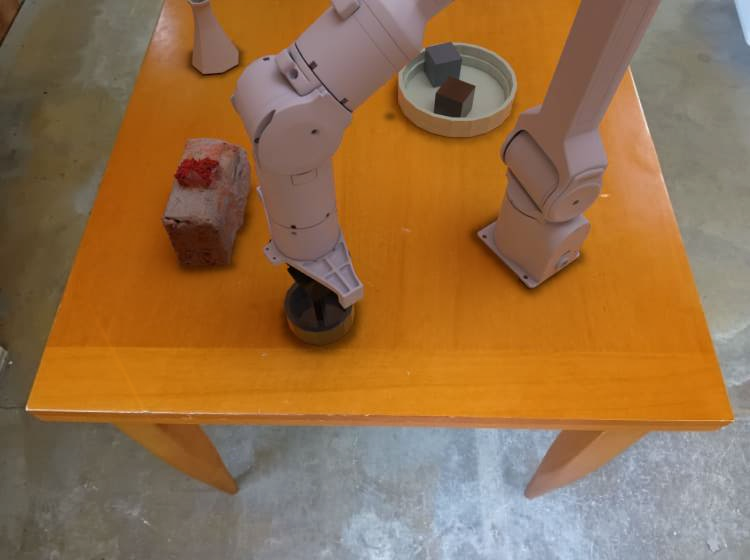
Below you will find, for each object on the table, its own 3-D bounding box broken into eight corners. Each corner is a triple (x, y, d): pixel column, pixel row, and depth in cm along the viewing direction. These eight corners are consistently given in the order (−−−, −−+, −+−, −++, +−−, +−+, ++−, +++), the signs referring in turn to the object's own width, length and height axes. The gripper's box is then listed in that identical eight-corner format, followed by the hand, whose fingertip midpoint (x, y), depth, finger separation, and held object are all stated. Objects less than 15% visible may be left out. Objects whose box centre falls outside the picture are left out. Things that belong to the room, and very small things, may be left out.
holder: (367, 323, 62) (366, 308, 59) (311, 359, 60) (307, 345, 57) (330, 278, 65) (328, 261, 62) (276, 310, 63) (271, 294, 60)
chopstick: (328, 317, 62) (321, 273, 54) (318, 321, 62) (309, 277, 54) (324, 308, 63) (316, 263, 55) (314, 313, 62) (304, 268, 55)
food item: (197, 179, 73) (174, 120, 65) (259, 180, 73) (243, 121, 65) (174, 267, 66) (145, 214, 58) (243, 269, 66) (223, 216, 58)
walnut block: (471, 109, 79) (475, 85, 76) (459, 126, 78) (462, 103, 74) (446, 99, 81) (449, 75, 77) (432, 116, 79) (435, 92, 75)
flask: (186, 52, 87) (165, -11, 79) (231, 39, 89) (216, -24, 80) (199, 80, 84) (179, 18, 75) (246, 67, 85) (231, 4, 77)
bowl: (535, 108, 80) (541, 88, 77) (446, 157, 75) (449, 138, 72) (461, 49, 87) (464, 28, 84) (375, 91, 82) (375, 70, 79)
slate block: (459, 82, 82) (462, 58, 79) (433, 88, 82) (435, 64, 78) (448, 65, 84) (451, 41, 81) (423, 70, 84) (425, 47, 80)
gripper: (214, 168, 48) (246, 259, 59) (306, 288, 42) (321, 363, 53) (286, 133, 50) (303, 227, 61) (384, 242, 44) (382, 324, 55)
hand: (316, 288), depth 57 cm, fingers closed on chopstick, 1 cm apart
